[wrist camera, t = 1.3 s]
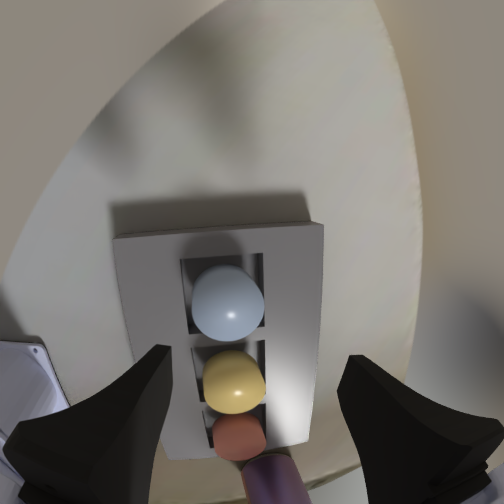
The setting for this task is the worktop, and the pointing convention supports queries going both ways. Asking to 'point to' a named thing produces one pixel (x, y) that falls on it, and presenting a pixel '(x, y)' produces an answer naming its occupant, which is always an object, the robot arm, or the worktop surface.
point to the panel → (203, 347)
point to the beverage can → (273, 481)
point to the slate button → (226, 303)
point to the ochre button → (232, 382)
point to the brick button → (238, 436)
